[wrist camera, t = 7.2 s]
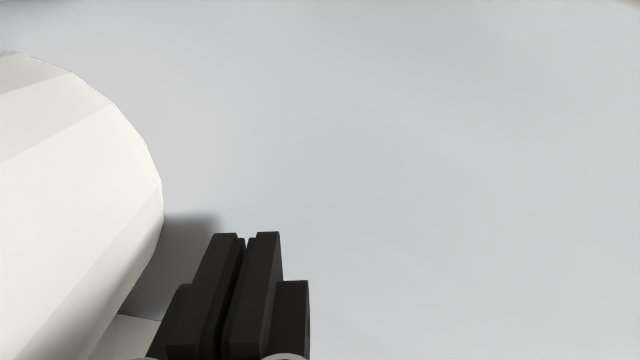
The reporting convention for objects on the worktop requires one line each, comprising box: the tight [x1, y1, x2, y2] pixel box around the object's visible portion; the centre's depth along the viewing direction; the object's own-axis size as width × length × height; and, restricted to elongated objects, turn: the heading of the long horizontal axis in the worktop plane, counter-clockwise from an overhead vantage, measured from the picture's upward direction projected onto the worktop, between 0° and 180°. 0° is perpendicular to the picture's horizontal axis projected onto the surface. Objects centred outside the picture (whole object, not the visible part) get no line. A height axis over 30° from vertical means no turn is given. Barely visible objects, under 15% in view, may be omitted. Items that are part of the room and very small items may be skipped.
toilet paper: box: [0, 51, 164, 360], centre depth 10 cm, size 8×11×7 cm
